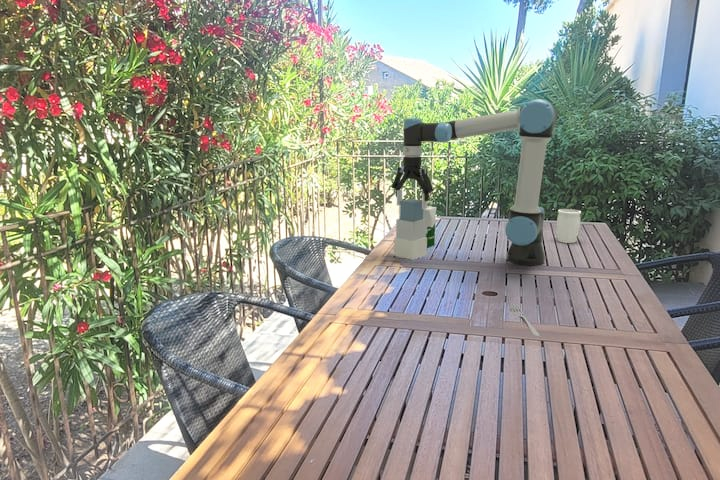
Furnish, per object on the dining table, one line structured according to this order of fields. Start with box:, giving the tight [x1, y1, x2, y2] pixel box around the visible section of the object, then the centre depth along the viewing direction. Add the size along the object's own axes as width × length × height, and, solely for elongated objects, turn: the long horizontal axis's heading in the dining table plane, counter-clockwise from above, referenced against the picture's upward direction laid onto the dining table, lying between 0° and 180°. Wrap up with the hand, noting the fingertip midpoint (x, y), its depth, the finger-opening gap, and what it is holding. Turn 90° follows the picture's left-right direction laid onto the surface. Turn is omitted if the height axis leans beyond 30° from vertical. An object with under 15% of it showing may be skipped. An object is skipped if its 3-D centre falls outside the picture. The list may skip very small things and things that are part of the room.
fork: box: [509, 303, 540, 337], centre depth 151 cm, size 3×24×2 cm, turn 2°
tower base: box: [393, 236, 428, 260], centre depth 221 cm, size 10×10×8 cm
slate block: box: [399, 198, 423, 222], centre depth 217 cm, size 7×7×8 cm
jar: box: [556, 208, 582, 244], centre depth 244 cm, size 11×10×15 cm
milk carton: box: [423, 205, 437, 249], centre depth 236 cm, size 9×9×20 cm
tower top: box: [395, 218, 426, 241], centre depth 219 cm, size 9×9×8 cm
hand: (411, 206), depth 217 cm, fingers open, 13 cm apart
